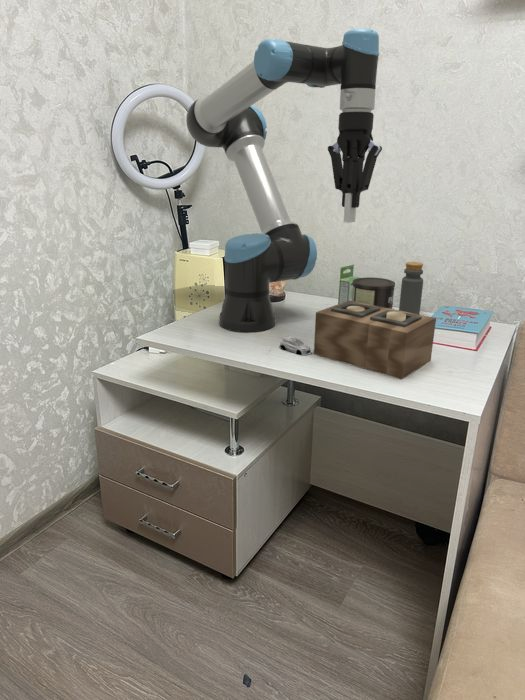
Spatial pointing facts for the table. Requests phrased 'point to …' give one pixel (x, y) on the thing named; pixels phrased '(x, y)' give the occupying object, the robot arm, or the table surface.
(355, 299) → the coffee can
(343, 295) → the ink box
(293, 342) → the toy car
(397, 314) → the dowel
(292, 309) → the table surface
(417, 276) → the bottle
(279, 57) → the robot arm
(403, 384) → the table surface
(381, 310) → the socket block
